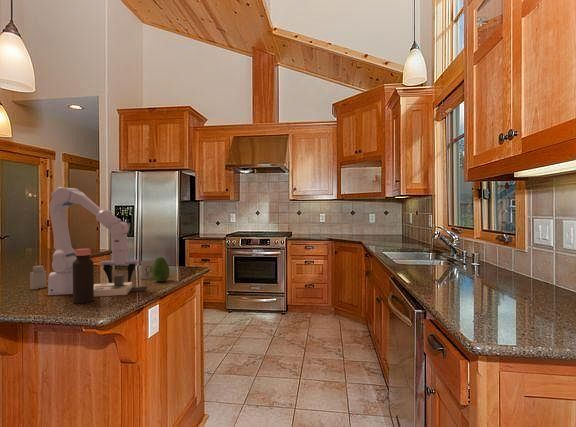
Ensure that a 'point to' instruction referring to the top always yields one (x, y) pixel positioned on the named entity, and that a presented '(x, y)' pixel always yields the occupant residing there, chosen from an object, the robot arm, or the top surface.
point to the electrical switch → (147, 269)
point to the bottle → (83, 277)
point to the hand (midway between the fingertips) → (119, 282)
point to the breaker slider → (119, 280)
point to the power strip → (116, 289)
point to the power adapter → (37, 277)
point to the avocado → (160, 270)
